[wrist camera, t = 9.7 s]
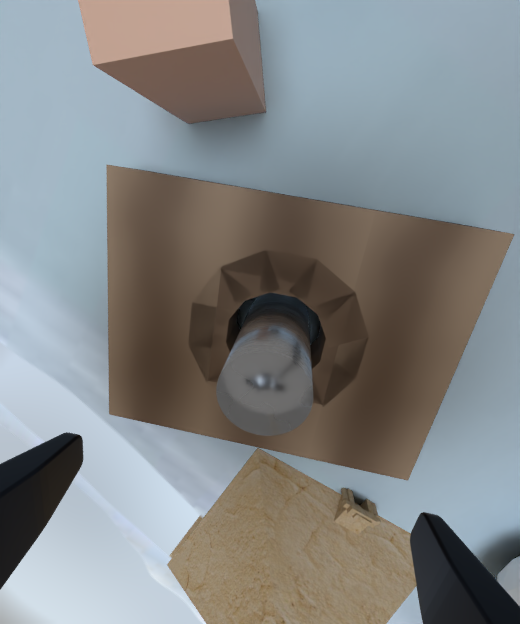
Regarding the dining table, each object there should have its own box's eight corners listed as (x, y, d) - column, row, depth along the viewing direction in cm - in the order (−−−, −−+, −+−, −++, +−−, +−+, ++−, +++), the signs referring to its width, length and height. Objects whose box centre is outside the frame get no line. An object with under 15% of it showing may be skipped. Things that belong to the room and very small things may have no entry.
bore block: (478, 227, 16) (514, 234, 14) (394, 442, 21) (407, 480, 19) (138, 169, 18) (106, 164, 15) (133, 386, 22) (109, 414, 20)
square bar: (257, 10, 15) (208, -184, 7) (266, 112, 16) (233, 38, 8) (173, 27, 15) (47, -135, 8) (188, 124, 16) (92, 64, 9)
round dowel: (314, 296, 19) (323, 363, 11) (302, 351, 20) (302, 444, 12) (253, 285, 19) (222, 343, 11) (244, 340, 20) (211, 424, 13)
